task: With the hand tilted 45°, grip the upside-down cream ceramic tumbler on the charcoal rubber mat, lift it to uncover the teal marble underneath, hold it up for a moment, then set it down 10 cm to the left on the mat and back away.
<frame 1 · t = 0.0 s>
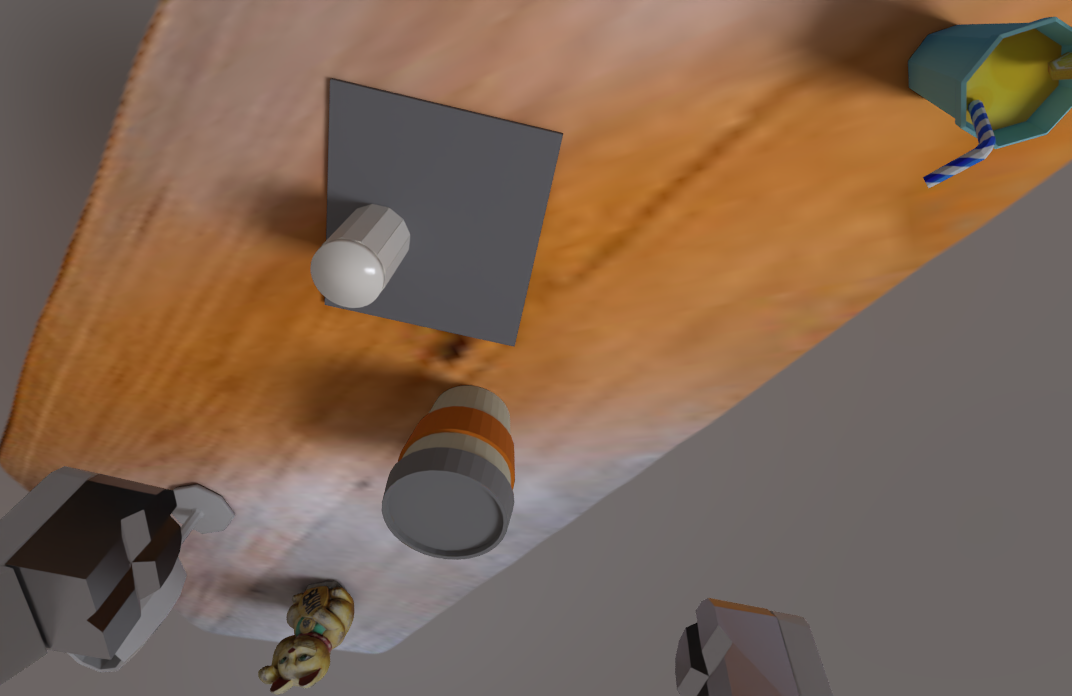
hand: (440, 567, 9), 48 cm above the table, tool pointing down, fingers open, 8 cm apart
charcoal mat: (433, 225, 58), on the table
wineglass: (203, 505, 82), on the table
cream tumbler: (378, 235, 58), resting on charcoal mat
cup: (930, 71, 48), on the table
reusable coffee cup: (471, 415, 70), on the table
decorative figurine: (333, 594, 90), on the table
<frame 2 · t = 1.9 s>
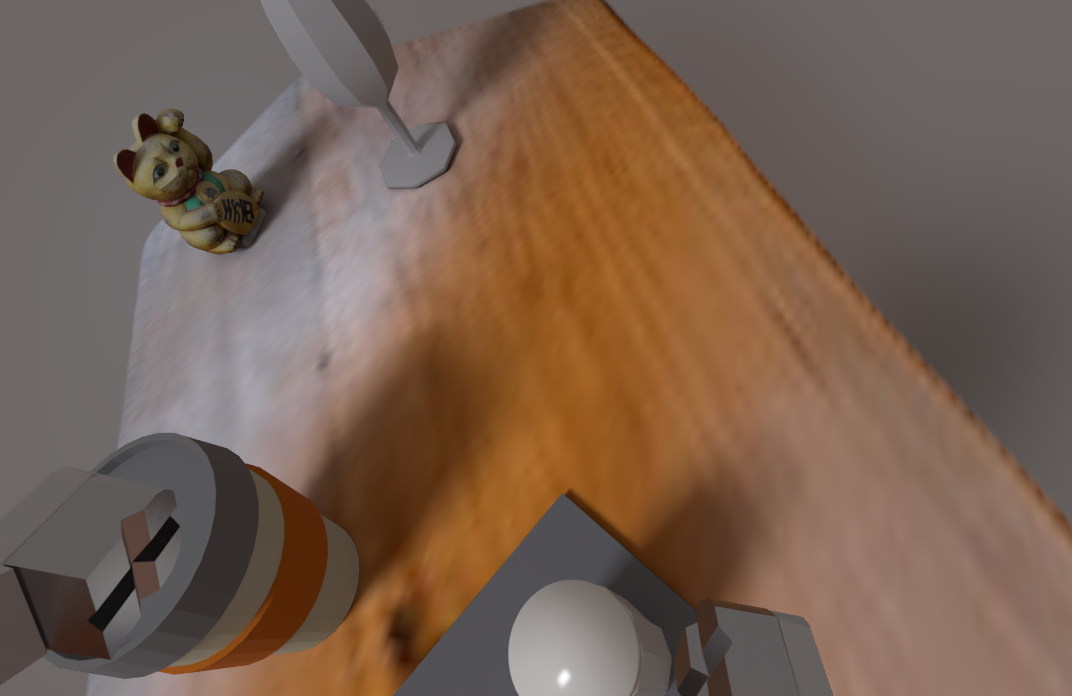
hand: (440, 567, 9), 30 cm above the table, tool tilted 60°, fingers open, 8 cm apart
wineglass: (421, 160, 63), on the table
cream tumbler: (616, 660, 34), resting on charcoal mat
reusable coffee cup: (307, 583, 44), on the table
decorative figurine: (239, 232, 68), on the table
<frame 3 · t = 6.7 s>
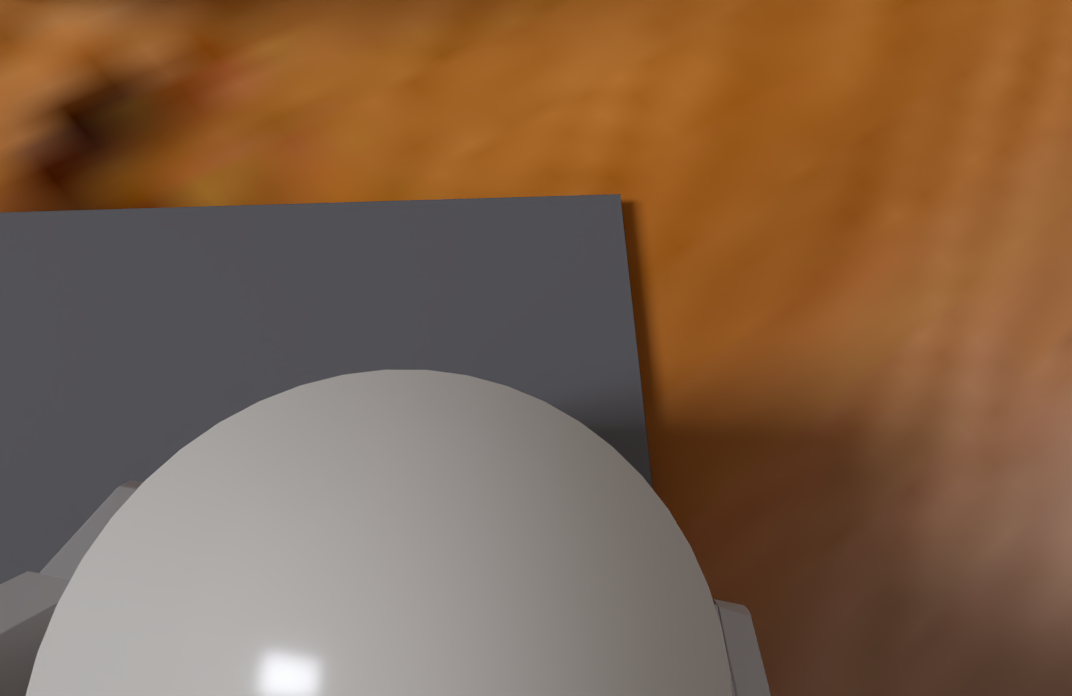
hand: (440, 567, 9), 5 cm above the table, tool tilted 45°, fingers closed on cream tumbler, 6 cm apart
charcoal mat: (226, 675, 14), on the table
cream tumbler: (447, 563, 14), resting on charcoal mat, touching gripper
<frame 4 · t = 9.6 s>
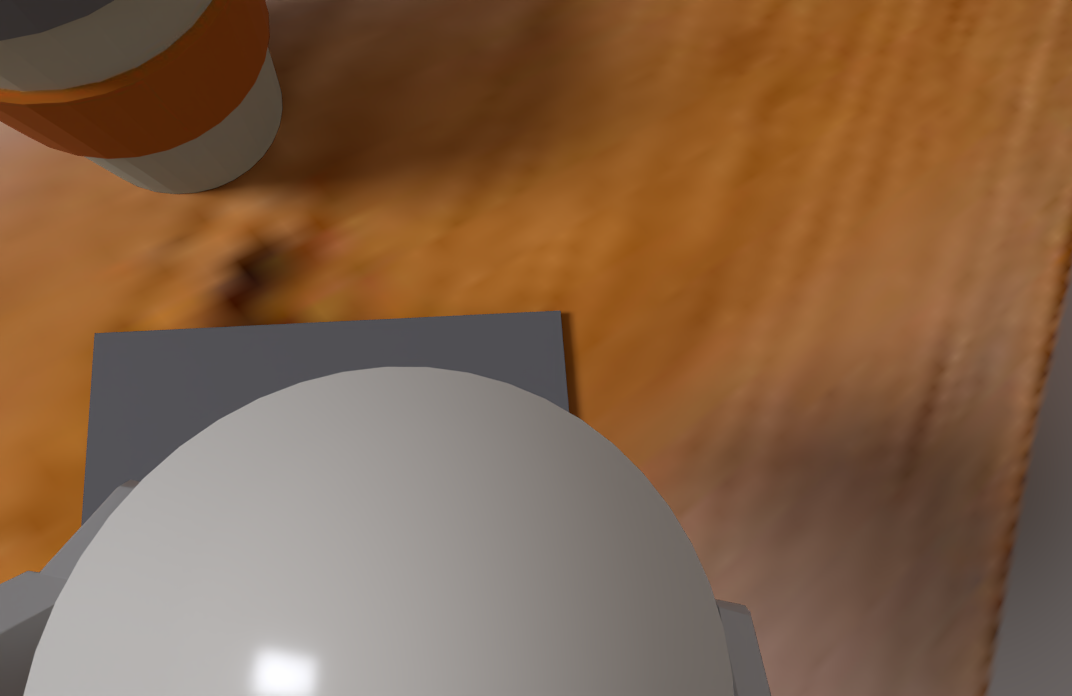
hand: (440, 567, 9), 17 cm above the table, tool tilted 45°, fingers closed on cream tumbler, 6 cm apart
charcoal mat: (342, 581, 25), on the table
cream tumbler: (447, 562, 14), point 12 cm above the table, touching gripper
reusable coffee cup: (186, 109, 29), on the table
when the fingers open (7 cm above the table, at t = 13.0 s): cream tumbler drops 1 cm, resting on charcoal mat.
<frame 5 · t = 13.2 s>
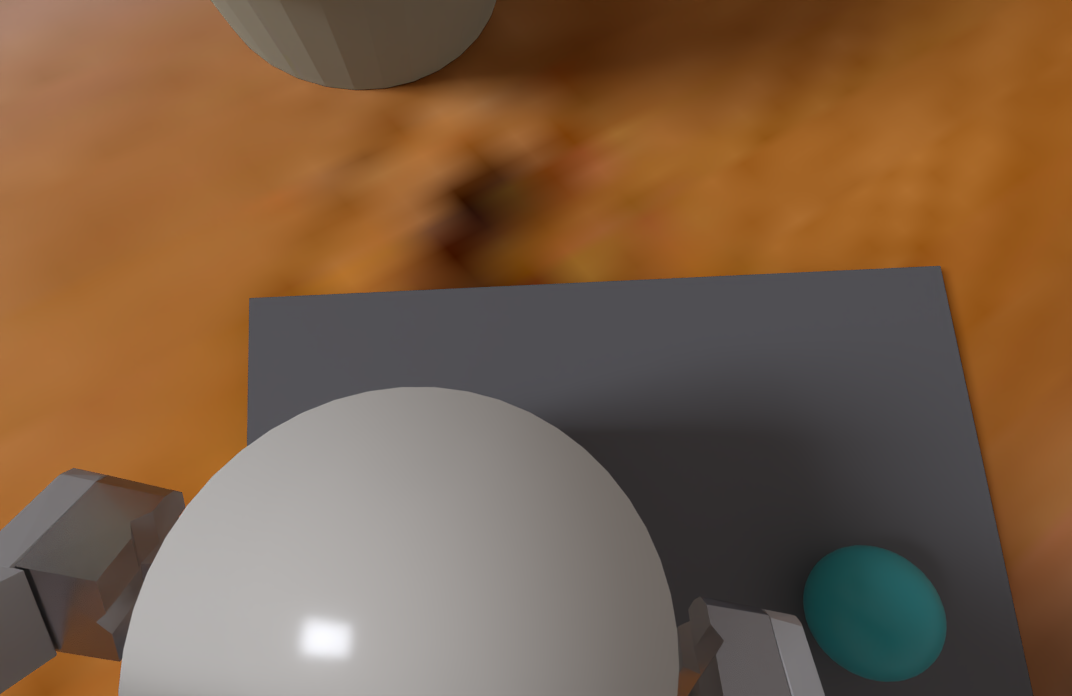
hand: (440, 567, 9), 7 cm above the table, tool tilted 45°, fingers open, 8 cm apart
charcoal mat: (654, 695, 16), on the table
cream tumbler: (450, 553, 15), resting on charcoal mat
teal marble: (871, 610, 15), point 2 cm above the table, touching charcoal mat
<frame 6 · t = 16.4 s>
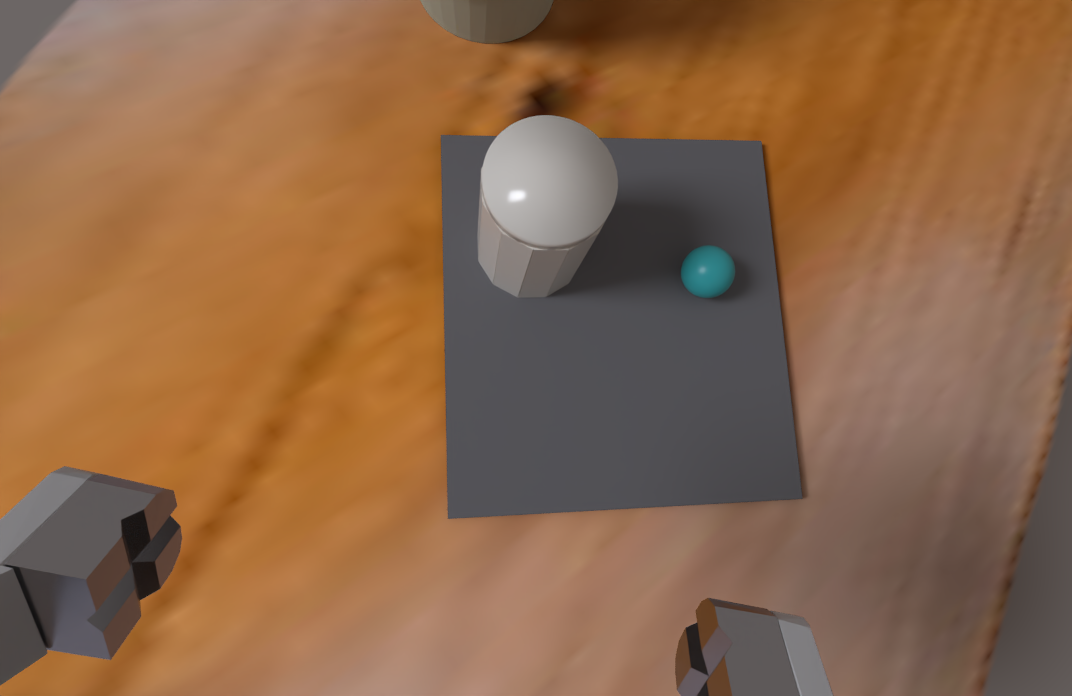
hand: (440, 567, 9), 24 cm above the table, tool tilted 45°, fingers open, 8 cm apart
charcoal mat: (616, 315, 36), on the table
cream tumbler: (529, 247, 35), resting on charcoal mat
teal marble: (707, 271, 35), point 2 cm above the table, touching charcoal mat
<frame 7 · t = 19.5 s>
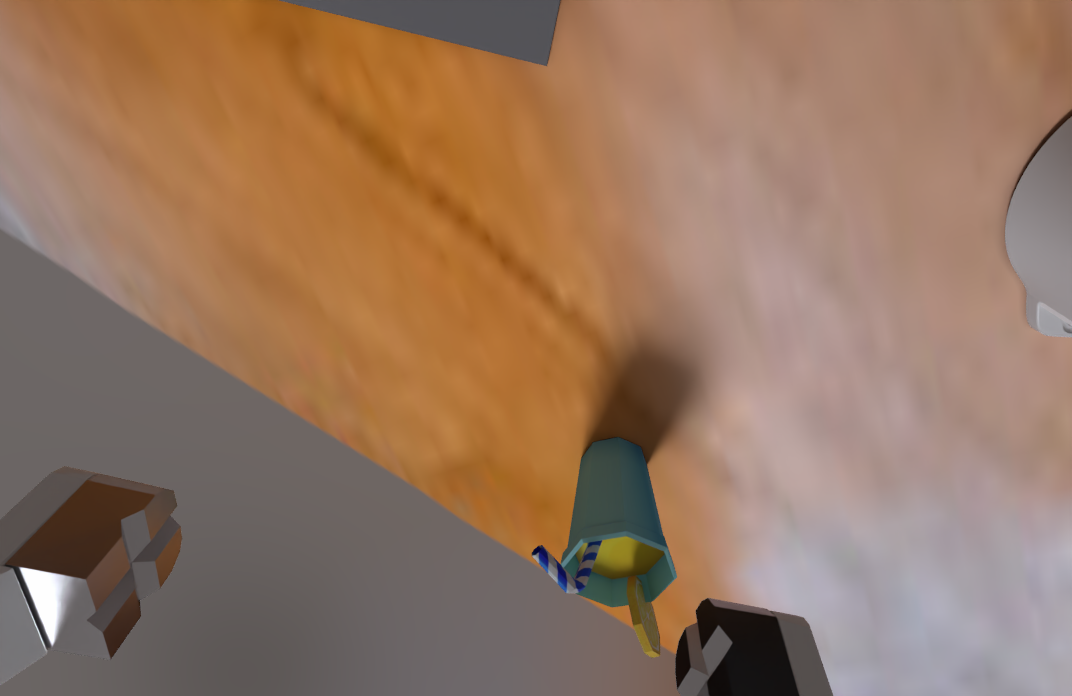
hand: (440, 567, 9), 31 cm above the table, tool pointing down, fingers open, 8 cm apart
cup: (607, 453, 49), on the table
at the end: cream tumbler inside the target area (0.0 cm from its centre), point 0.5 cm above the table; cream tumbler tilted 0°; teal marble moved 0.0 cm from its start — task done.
